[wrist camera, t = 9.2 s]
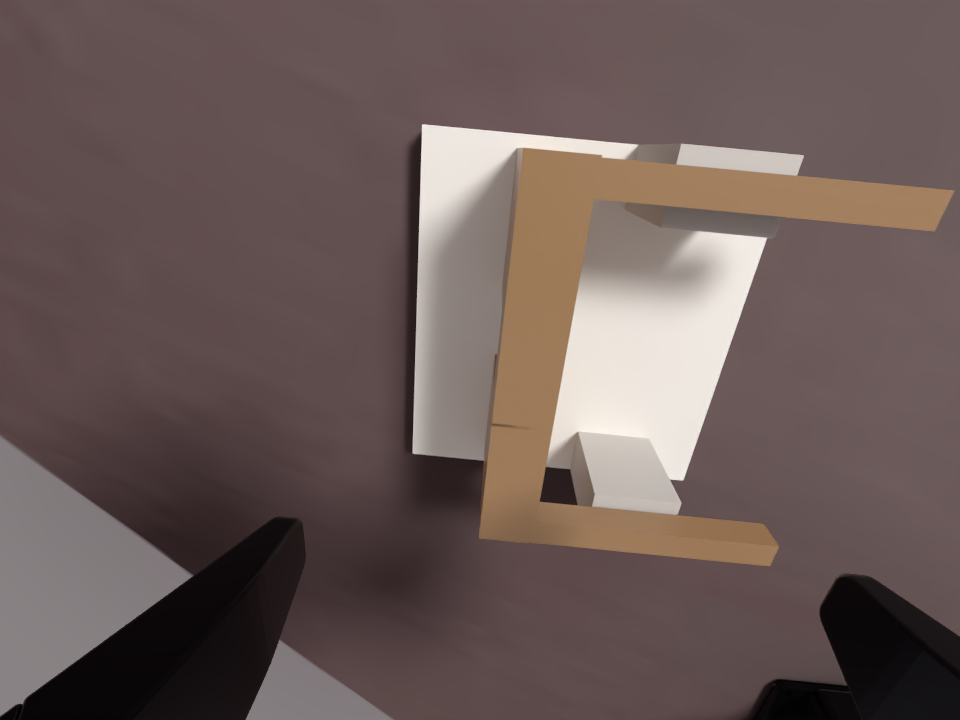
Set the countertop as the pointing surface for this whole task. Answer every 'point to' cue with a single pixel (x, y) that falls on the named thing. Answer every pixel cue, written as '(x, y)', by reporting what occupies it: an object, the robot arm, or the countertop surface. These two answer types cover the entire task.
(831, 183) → the wooden c-shaped bracket
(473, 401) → the display stand
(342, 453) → the countertop surface
